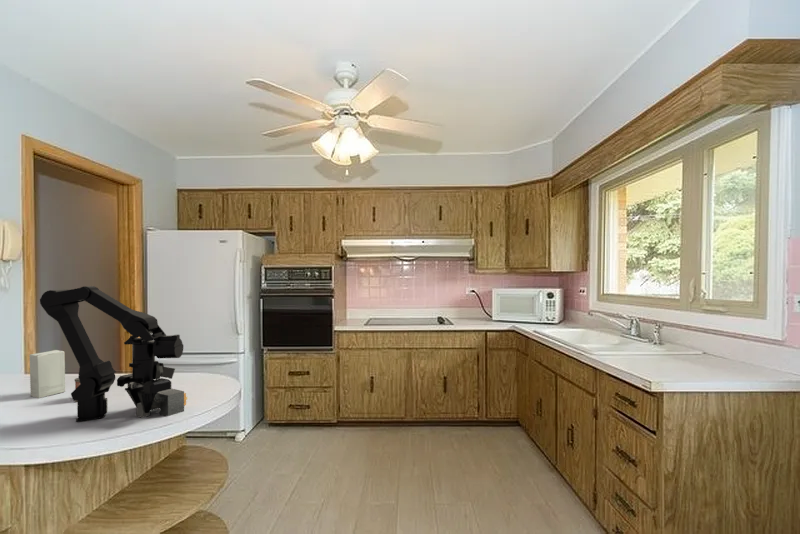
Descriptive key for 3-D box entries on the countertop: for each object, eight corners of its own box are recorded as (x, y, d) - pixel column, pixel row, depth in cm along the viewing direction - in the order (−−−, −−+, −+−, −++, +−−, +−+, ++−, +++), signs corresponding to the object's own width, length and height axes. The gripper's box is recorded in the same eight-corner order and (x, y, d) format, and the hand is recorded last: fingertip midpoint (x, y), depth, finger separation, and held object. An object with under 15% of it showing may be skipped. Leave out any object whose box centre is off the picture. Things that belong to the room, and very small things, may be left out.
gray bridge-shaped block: (168, 416, 123) (167, 395, 123) (141, 408, 130) (141, 389, 130) (184, 411, 127) (184, 391, 127) (157, 404, 134) (157, 385, 134)
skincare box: (57, 390, 153) (57, 349, 153) (66, 392, 150) (66, 350, 150) (28, 396, 145) (28, 353, 145) (37, 398, 142) (37, 354, 142)
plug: (142, 417, 122) (142, 405, 122) (136, 415, 123) (136, 403, 123) (188, 404, 134) (188, 392, 134) (182, 402, 136) (182, 391, 136)
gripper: (188, 356, 126) (188, 408, 126) (153, 351, 136) (153, 400, 135) (150, 363, 117) (151, 420, 116) (115, 357, 126) (116, 410, 126)
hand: (144, 411), depth 124 cm, fingers closed on plug, 3 cm apart
